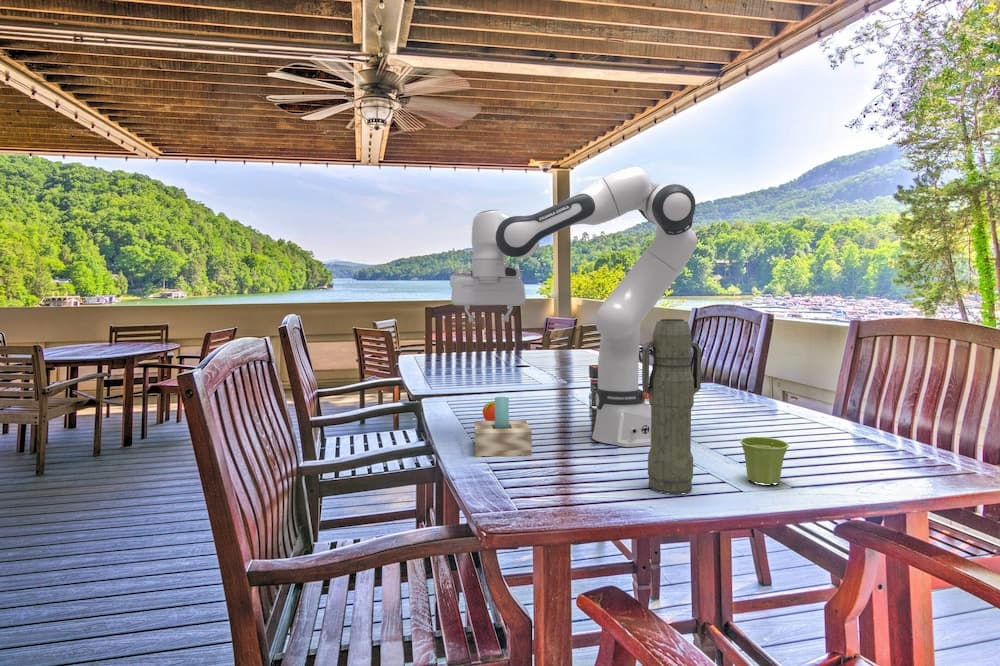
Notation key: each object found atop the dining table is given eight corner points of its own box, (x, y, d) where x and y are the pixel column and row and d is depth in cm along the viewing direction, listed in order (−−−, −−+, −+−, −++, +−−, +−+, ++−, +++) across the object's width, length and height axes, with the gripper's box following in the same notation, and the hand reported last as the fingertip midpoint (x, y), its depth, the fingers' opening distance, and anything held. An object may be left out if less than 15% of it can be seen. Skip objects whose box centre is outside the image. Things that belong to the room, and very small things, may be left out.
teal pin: (508, 441, 150) (507, 396, 149) (509, 444, 146) (509, 399, 146) (494, 441, 150) (494, 397, 149) (495, 445, 146) (495, 399, 145)
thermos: (708, 492, 114) (710, 319, 112) (654, 497, 112) (655, 320, 110) (685, 479, 123) (687, 318, 121) (634, 482, 120) (636, 319, 118)
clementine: (494, 427, 174) (494, 404, 173) (476, 424, 178) (476, 402, 177) (508, 422, 180) (508, 400, 180) (490, 419, 184) (490, 398, 184)
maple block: (525, 441, 156) (525, 420, 155) (531, 455, 142) (531, 432, 141) (474, 442, 155) (474, 421, 154) (475, 457, 141) (475, 433, 140)
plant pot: (785, 492, 114) (786, 450, 114) (735, 484, 119) (736, 444, 119) (789, 479, 122) (790, 440, 122) (743, 472, 127) (743, 434, 126)
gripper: (449, 270, 149) (450, 322, 150) (526, 270, 151) (526, 322, 151) (450, 271, 156) (450, 321, 156) (523, 271, 157) (524, 321, 158)
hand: (488, 322), depth 154 cm, fingers open, 8 cm apart
